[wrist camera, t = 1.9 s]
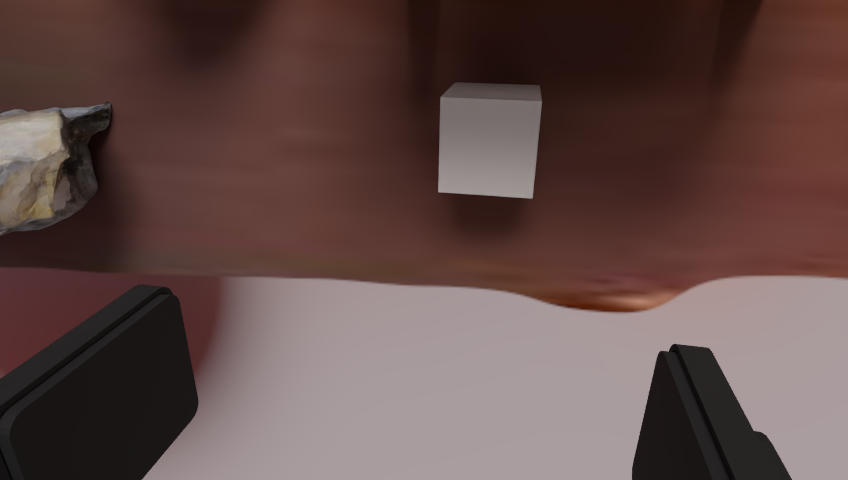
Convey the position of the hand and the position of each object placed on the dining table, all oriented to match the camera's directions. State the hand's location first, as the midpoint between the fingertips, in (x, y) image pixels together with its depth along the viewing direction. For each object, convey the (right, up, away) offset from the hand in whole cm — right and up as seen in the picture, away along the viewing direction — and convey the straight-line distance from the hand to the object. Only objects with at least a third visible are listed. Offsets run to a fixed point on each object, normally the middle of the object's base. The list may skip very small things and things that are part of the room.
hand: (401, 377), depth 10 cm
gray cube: (+5, +10, +22) cm, 25 cm away
